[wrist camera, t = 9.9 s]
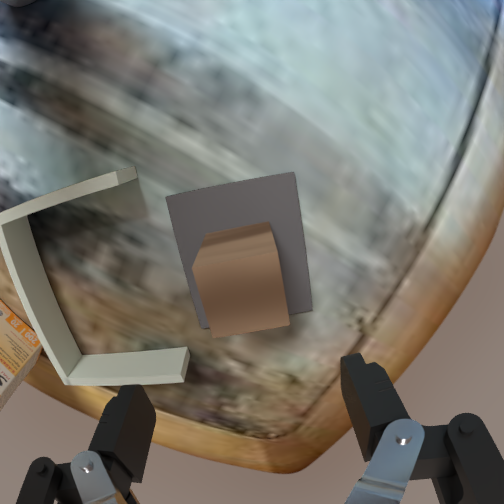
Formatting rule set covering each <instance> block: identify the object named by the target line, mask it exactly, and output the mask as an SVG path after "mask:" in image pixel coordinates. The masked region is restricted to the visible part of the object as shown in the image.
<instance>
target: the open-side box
mask: <svg viewBox="0 0 504 504" xmlns="http://www.w3.org/2000/svg"><path fill="white" fill-rule="evenodd" d="M136 178H138V177H137V173H136V169H135V166H133V167H129V168H125V169H121V170H117V171H114V172H111V173H107V174H104V175H101V176H98V177H95V178H91V179H88V180H85V181H82V182H79V183H76V184H74V185H71V186H68V187H65V188H62V189H59V190H57V191H54V192H51V193H48V194H46V195H43V196H40V197H38V198H35V199H33V200H30V201H28V202H25V203H23V204H20V205H18V206H15V207H13V208H11V209H8V210H6V211H4V212H1V213H0V247H1V250H2V253H3V256H4V258H5V261H6V264H7V267H8V270H9V272H10V275H11V278H12V280H13V283H14V285H15V288H16V290H17V293H18V295H19V297H20V300H21V302H22V304H23V307H24V309H25V311H26V313H27V316H28V318H29V320H30V322H31V324H32V326H33V328H34V330H35V332H36V334H37V336H38V338H39V340H40V342H41V344H42V346H43V348H44V350H45V352H46V353H47V355H48V357H49V359H50V361H51V362H52V364H53V366H54V368H55V369H56V371H57V373H58V374H59V376H60V378H61V379H62V381H63V383H64V384H65V385H81V386H118V385H129V384H140V385H148V384H165V383H179V382H184V380H185V375H186V371H187V367H188V362H189V358H190V353H189V350H188V347H180V348H170V349H161V350H150V351H139V352H126V353H111V354H94V355H82V354H81V352H80V350H79V348H78V346H77V344H76V342H75V340H74V338H73V336H72V334H71V332H70V330H69V328H68V326H67V323H66V321H65V319H64V317H63V315H62V312H61V310H60V308H59V306H58V303H57V301H56V298H55V296H54V294H53V291H52V289H51V286H50V284H49V281H48V278H47V276H46V273H45V270H44V268H43V265H42V262H41V259H40V256H39V253H38V250H37V247H36V244H35V241H34V238H33V235H32V231H31V228H30V225H29V221H28V218H27V215H28V214H31V213H34V212H37V211H39V210H42V209H45V208H48V207H51V206H54V205H57V204H59V203H62V202H65V201H68V200H72V199H75V198H78V197H81V196H84V195H87V194H90V193H94V192H97V191H100V190H104V189H107V188H111V187H114V186H118V185H120V184H123V183H126V182H128V181H131V180H134V179H136Z"/></svg>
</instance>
